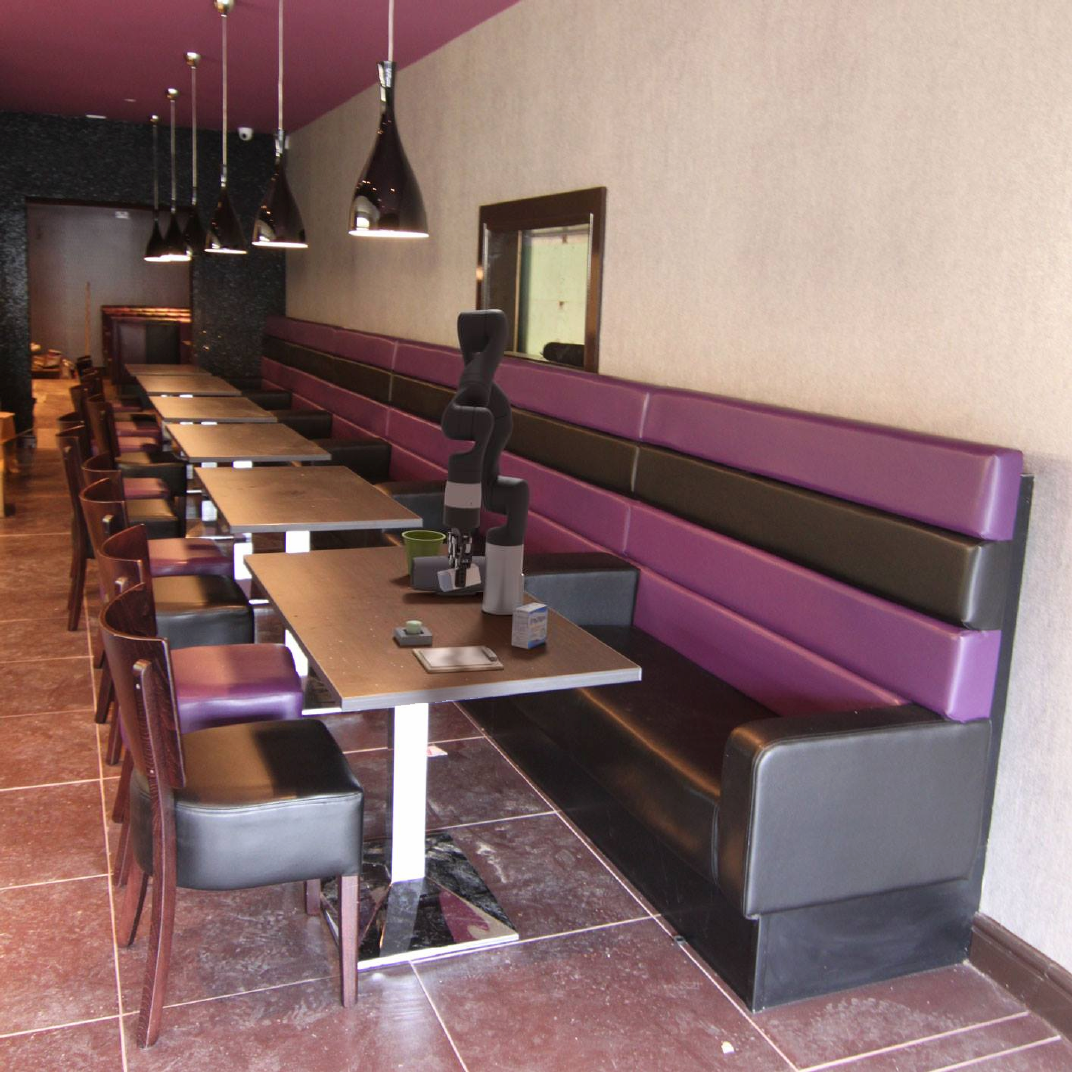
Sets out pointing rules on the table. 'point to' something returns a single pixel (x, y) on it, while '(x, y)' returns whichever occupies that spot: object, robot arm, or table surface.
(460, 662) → the clipboard
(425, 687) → the table surface
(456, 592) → the bluetooth speaker
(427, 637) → the button housing
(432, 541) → the plant pot
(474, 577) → the white carton blue base
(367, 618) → the table surface
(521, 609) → the medicine box
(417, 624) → the button
